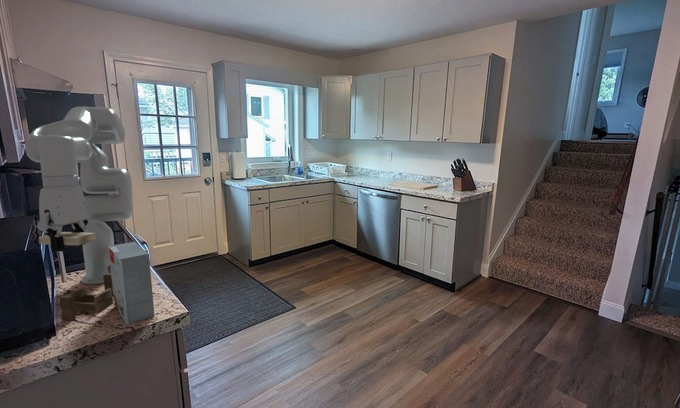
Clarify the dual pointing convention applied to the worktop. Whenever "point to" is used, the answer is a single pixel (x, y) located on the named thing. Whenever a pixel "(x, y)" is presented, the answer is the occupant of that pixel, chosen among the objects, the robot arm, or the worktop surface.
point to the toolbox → (86, 300)
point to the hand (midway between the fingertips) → (69, 246)
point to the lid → (71, 238)
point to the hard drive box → (131, 281)
